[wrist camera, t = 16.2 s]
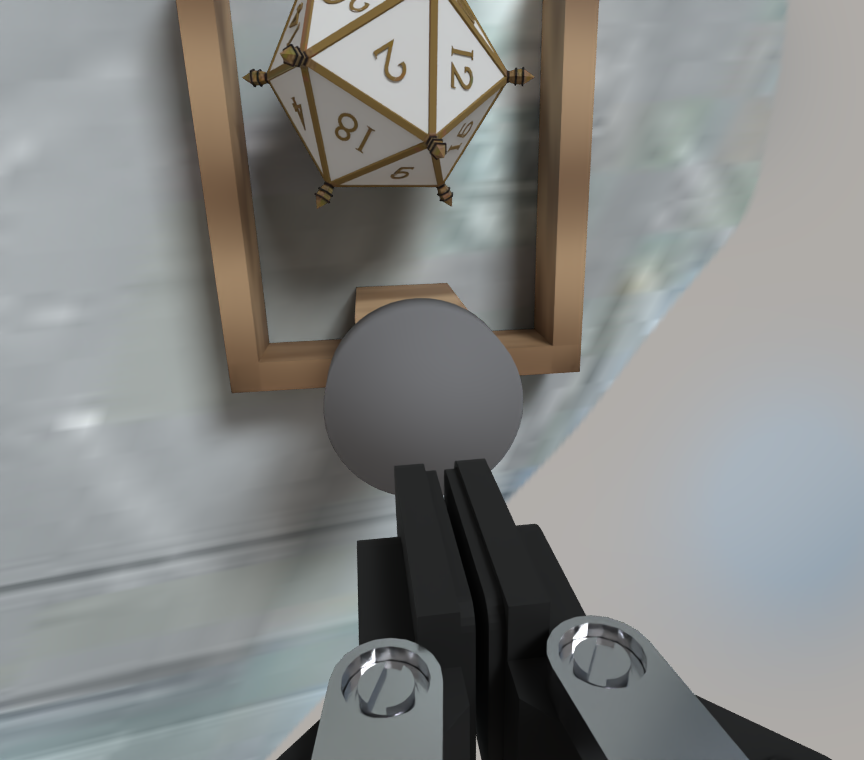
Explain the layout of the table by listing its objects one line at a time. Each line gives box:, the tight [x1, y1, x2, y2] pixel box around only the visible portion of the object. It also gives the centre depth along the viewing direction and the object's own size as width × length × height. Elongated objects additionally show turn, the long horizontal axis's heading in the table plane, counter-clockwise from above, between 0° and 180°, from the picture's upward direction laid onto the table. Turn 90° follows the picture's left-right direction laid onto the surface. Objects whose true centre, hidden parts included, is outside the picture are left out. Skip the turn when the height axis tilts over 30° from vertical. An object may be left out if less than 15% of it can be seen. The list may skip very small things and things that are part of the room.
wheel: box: [324, 298, 523, 495], centre depth 20 cm, size 6×6×4 cm
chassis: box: [176, 0, 599, 393], centre depth 22 cm, size 16×14×8 cm
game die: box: [242, 0, 534, 209], centre depth 21 cm, size 9×8×10 cm
